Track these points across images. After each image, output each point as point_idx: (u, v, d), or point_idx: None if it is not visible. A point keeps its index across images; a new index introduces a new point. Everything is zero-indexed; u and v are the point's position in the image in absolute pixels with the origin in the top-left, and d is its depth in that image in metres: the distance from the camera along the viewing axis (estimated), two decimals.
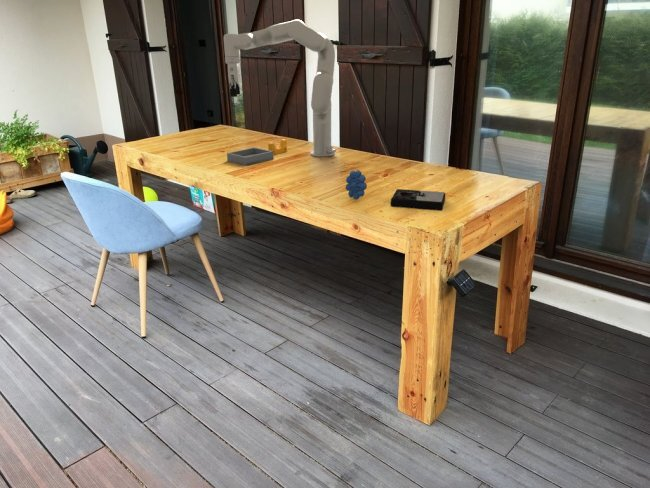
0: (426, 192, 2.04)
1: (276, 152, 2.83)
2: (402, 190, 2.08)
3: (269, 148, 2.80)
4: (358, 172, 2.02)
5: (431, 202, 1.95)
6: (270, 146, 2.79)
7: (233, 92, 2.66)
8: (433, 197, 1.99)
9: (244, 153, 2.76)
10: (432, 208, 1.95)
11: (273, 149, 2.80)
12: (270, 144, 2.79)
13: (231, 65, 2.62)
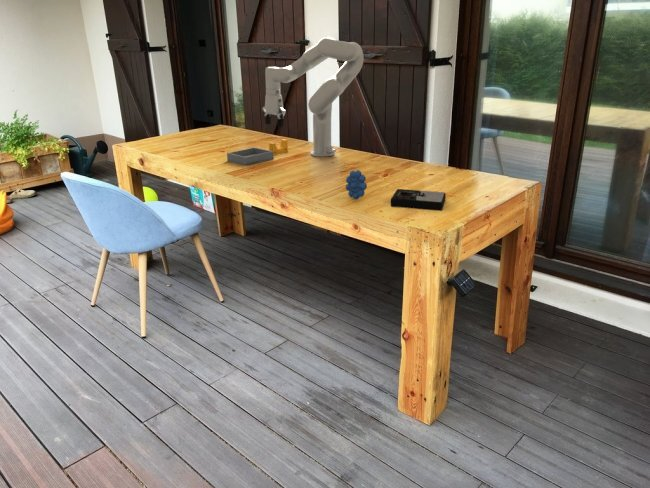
0: (427, 192, 2.04)
1: (277, 152, 2.82)
2: (402, 190, 2.08)
3: (270, 148, 2.80)
4: (358, 172, 2.02)
5: (431, 202, 1.94)
6: (271, 146, 2.79)
7: (281, 122, 2.77)
8: (433, 197, 1.99)
9: (244, 153, 2.76)
10: (432, 208, 1.95)
11: (274, 149, 2.80)
12: (271, 144, 2.79)
13: (279, 97, 2.72)
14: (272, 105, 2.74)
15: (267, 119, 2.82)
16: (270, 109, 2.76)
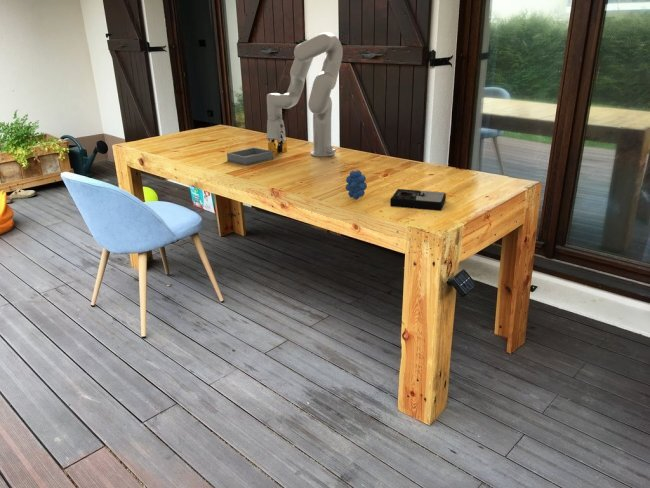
0: (427, 192, 2.04)
1: (276, 152, 2.83)
2: (402, 190, 2.08)
3: (269, 148, 2.80)
4: (358, 172, 2.02)
5: (430, 202, 1.94)
6: (270, 146, 2.79)
7: (281, 148, 2.83)
8: (433, 197, 1.99)
9: (244, 153, 2.76)
10: (431, 208, 1.95)
11: (273, 149, 2.80)
12: (270, 144, 2.79)
13: (280, 122, 2.77)
14: (274, 130, 2.79)
15: None
16: (272, 134, 2.81)
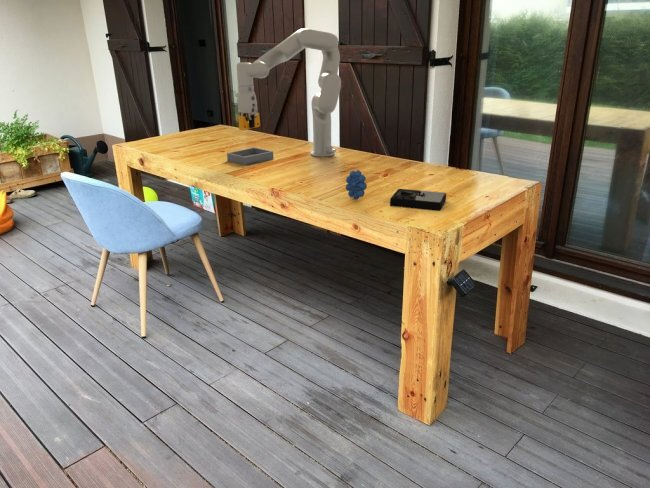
0: (427, 192, 2.04)
1: (247, 126, 2.62)
2: (403, 190, 2.08)
3: (239, 122, 2.59)
4: (358, 172, 2.02)
5: (430, 202, 1.94)
6: (240, 120, 2.58)
7: (253, 123, 2.62)
8: (433, 197, 1.99)
9: (244, 153, 2.76)
10: (431, 208, 1.95)
11: (244, 123, 2.59)
12: (240, 118, 2.58)
13: (252, 94, 2.56)
14: (245, 103, 2.58)
15: None
16: (243, 108, 2.60)
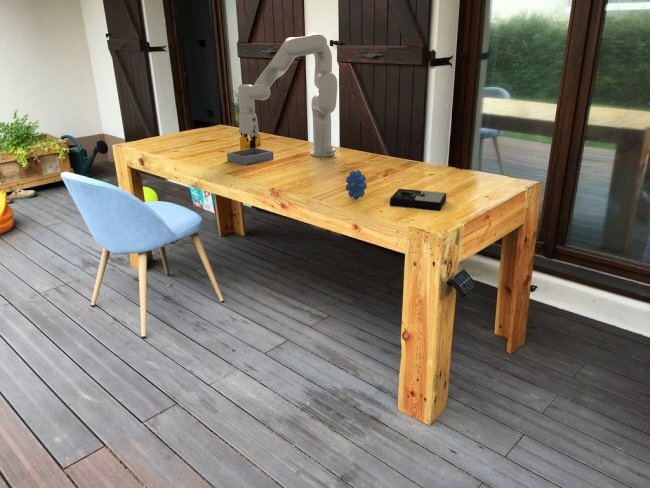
0: (427, 192, 2.04)
1: (248, 147, 2.66)
2: (403, 190, 2.08)
3: (241, 143, 2.63)
4: (358, 172, 2.02)
5: (429, 202, 1.94)
6: (242, 140, 2.62)
7: (254, 144, 2.66)
8: (433, 197, 1.98)
9: (244, 153, 2.76)
10: (430, 208, 1.95)
11: (245, 144, 2.63)
12: (241, 139, 2.62)
13: (253, 116, 2.60)
14: (246, 124, 2.62)
15: None
16: (244, 129, 2.64)
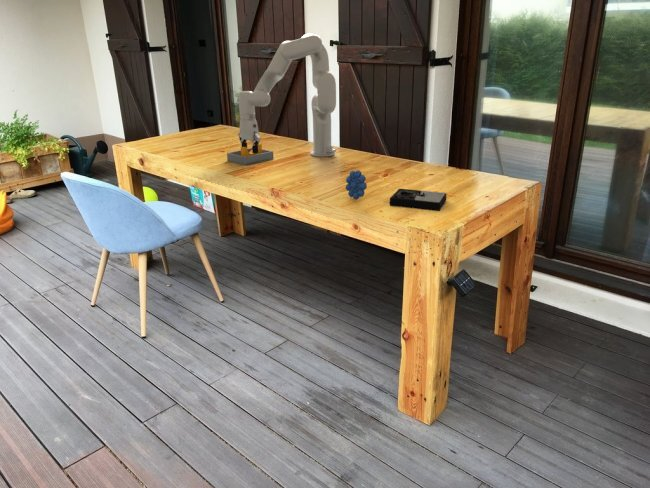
0: (427, 192, 2.04)
1: None
2: (403, 190, 2.08)
3: (242, 153, 2.65)
4: (358, 172, 2.02)
5: (429, 202, 1.94)
6: (243, 151, 2.64)
7: (256, 149, 2.66)
8: (432, 197, 1.98)
9: None
10: (430, 208, 1.95)
11: (246, 154, 2.65)
12: (242, 149, 2.64)
13: (253, 122, 2.61)
14: (247, 131, 2.63)
15: (243, 146, 2.71)
16: (245, 135, 2.65)
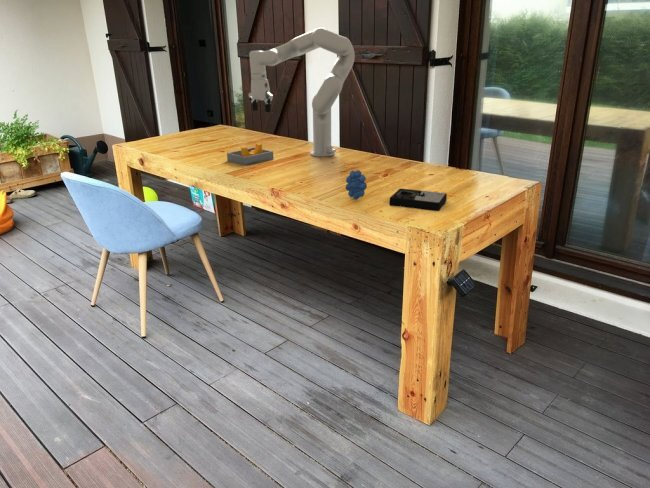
0: (427, 193, 2.04)
1: None
2: (404, 189, 2.08)
3: (242, 153, 2.65)
4: (358, 172, 2.02)
5: (429, 202, 1.94)
6: (243, 151, 2.64)
7: (269, 107, 2.69)
8: (432, 197, 1.98)
9: None
10: (429, 208, 1.95)
11: (246, 154, 2.65)
12: (243, 149, 2.64)
13: (265, 81, 2.64)
14: (258, 90, 2.66)
15: (254, 105, 2.74)
16: (257, 95, 2.68)
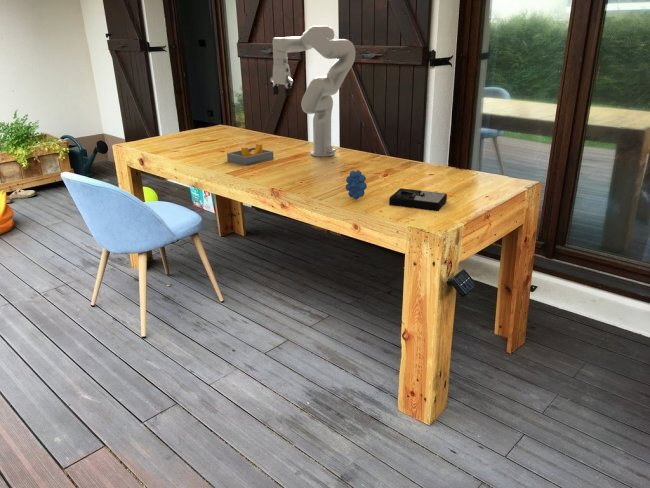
0: (428, 193, 2.04)
1: None
2: (404, 189, 2.08)
3: (242, 153, 2.65)
4: (358, 172, 2.02)
5: (428, 202, 1.94)
6: (243, 151, 2.64)
7: (289, 91, 2.85)
8: (432, 198, 1.98)
9: None
10: (429, 208, 1.95)
11: (246, 154, 2.65)
12: (243, 149, 2.64)
13: (286, 66, 2.81)
14: (280, 75, 2.83)
15: (275, 89, 2.91)
16: (278, 79, 2.85)
